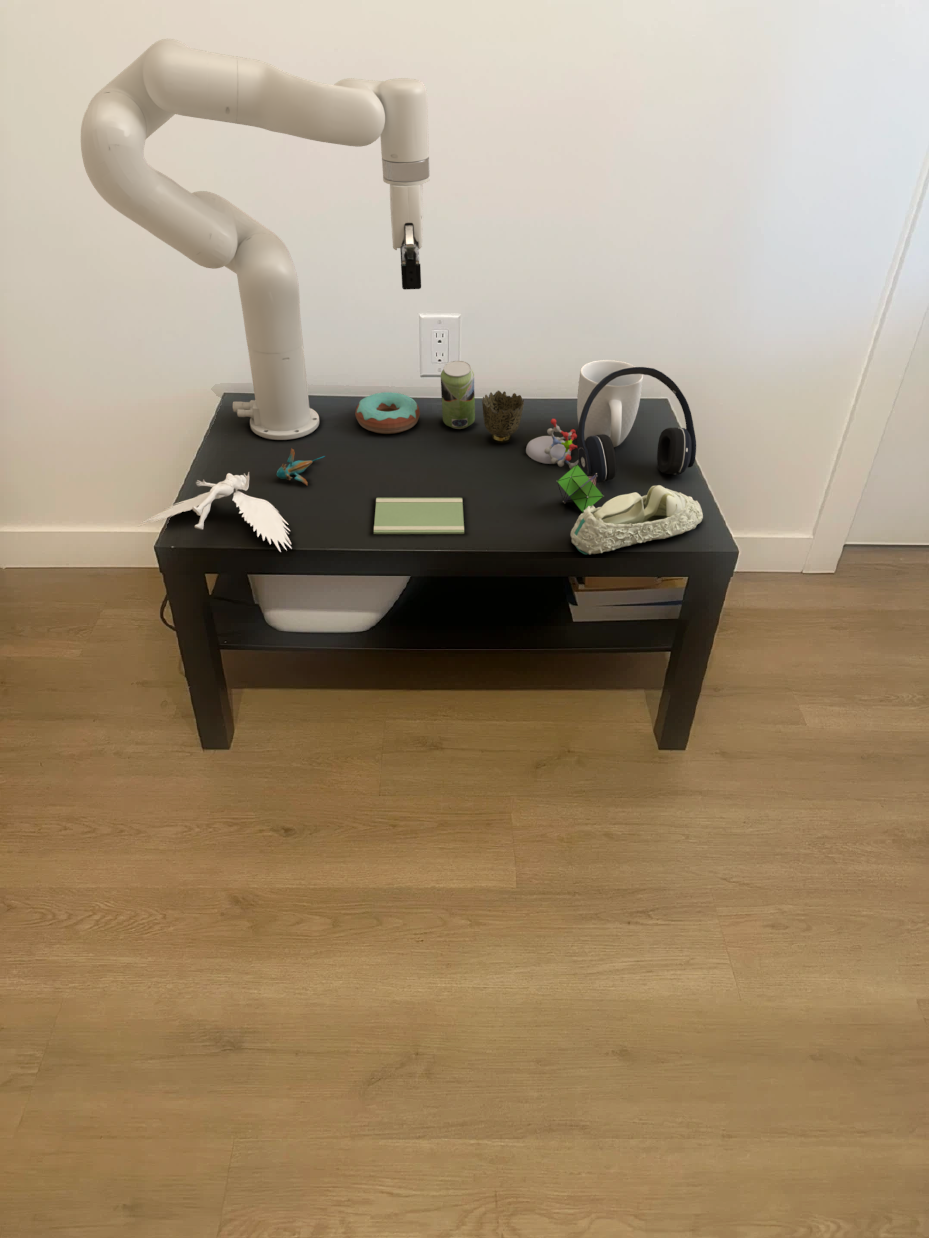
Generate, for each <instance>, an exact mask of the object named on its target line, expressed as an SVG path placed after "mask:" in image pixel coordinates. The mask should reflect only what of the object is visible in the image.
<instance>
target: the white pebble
mask: <svg viewBox="0 0 929 1238" xmlns="http://www.w3.org/2000/svg"><path fill="white" fill-rule="evenodd" d="M554 437H555V438H556V437H557V436H554ZM565 441H566V440H565V439H563V440H561V442H564V443H565ZM552 443H553V438H552V436H551V435H541V436H538V437H535V438H533V439H531V440H530V441H528V443H527V445H526V448H525V453H526V455H527V456H528V457H529V458H531V460H533V461H535V462H537V463H542V464H546V465H548V464H549V465H553V464H552V463H551V458H550V456H549V455H548V454H546V453H545V452H544V450H545V448H549V447H550V446H551V445H552ZM550 450H551V451H550V453H551V455H552V456H553V458H556V459H560V458H561V457H563V456H564V453H565V450H566V448H565V447H564V445H562V444H557V445H554V446H553V447H552V448H551V449H550ZM568 451H569V449H568ZM568 451H567V453H568ZM570 455H572V452H571V453H570ZM556 464H558V461H557V463H556Z"/></svg>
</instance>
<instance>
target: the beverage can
mask: <svg viewBox="0 0 929 1238" xmlns="http://www.w3.org/2000/svg"><path fill="white" fill-rule="evenodd" d="M442 368H443V369H442V371H441V372H440V393H441V394H440V395H441V413H442V415H441V416H442V422H443V423H444V424H445V425H446V426H447V427H449V428H451V429H456V430H461V429H466V428H468V427H470V426H471V425H472V424H474V422H475V419H476V404H475V403H476V402H475V401H476V400H475V399H476V397H475V395H476V394H475V372H474V370H473V368H472V366H471V365H470V364H469V363H468V362H466V361H464V360H451V361H449V362H446V364H444V366H443V367H442Z"/></svg>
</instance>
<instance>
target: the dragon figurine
mask: <svg viewBox="0 0 929 1238" xmlns="http://www.w3.org/2000/svg"><path fill="white" fill-rule="evenodd" d="M295 454H296V453H295V449H293V447H291V448H290V453H289V457H288V458H287V460H286V462H287V463H289V464H288V465H287V463H285V464H284V463H282V465H281V466H280V467H279V468H278V469H277V472H276V477H277V478H279V479H281V480H288V481H291V480H292V479H293V477H292V476H295V477H294V480H295V481H298V482H301V483H302V484H304V485H306V486H307V487H308V486H309V485H308V484H309V483H308V481H307V479H306V478H305V477H303V476H302V475H300V474H303V472H305V471H306V469H307V468H308V467H310V466H311V465H313V462H316V461H319V460H322V459H323V458H325V457H326V455H323V456H320V457H317V458H315V459H313V460H312V459H309V460H301V459H300V460H295Z"/></svg>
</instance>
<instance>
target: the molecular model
mask: <svg viewBox="0 0 929 1238" xmlns="http://www.w3.org/2000/svg"><path fill="white" fill-rule="evenodd" d="M550 424H551V425H553V428H552V427H550V428H548V429H547V430H546V431H547V435H548V436H552V438H553V443H552V445H551V446H550V447H549V448H545V450H544V452H545V453H546V454H548V455H549V456H550V458H551V463H552V464H551V465H556V464H557V466H558V467H560V468H561V467H564V466H565V463H566V464H567V465H568V468H569V470H571V469H572V468H573V467H574V466H575V465H576V464H579V461H578V459H577V460H576V461H574V462H570V461H571V460H572V456H571V455H572V451H573V450H575V449H577V444H576V445H575V444H574V443H573V441H574V440H576V439H578V434H577V431H576V429H573V428H572V429H570V431H569V432H567V431H563V430H561V428H560V426H559V425H558V424H557V419H556V418H551V420H550ZM554 432H555V433H560V434H561V435H562V436H561V437H559V436H555V434H554ZM555 437H556V438H555ZM561 440H564V441H565V443H564V442H561ZM557 444H562V445H564V447H565V448H566V450H565V453H564V456H563V457H561V458H560V459H556V458H553V456H552V455H551V453H550V451H551V450H550V449H551V448H552V447H553V446H554V445H557ZM568 449H569V451H568ZM567 451H568V453H567ZM570 453H571V455H570ZM557 461H558V463H557Z"/></svg>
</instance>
